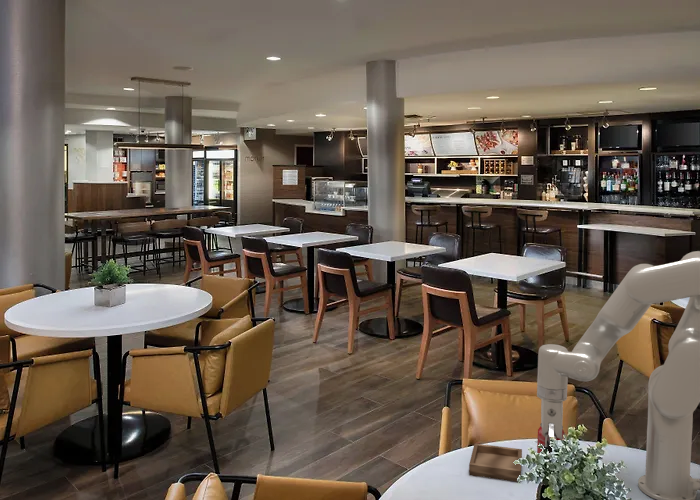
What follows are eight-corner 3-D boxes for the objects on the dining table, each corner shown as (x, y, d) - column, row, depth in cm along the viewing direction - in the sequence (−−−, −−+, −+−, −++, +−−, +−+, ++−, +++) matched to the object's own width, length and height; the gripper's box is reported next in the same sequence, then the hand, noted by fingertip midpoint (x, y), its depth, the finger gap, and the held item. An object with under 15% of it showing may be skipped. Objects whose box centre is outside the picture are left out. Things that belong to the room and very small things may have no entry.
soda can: (560, 462, 156) (561, 420, 154) (567, 475, 149) (569, 431, 147) (534, 461, 156) (535, 419, 155) (540, 474, 149) (541, 430, 148)
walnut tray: (521, 459, 158) (522, 449, 157) (520, 482, 145) (520, 471, 145) (474, 453, 162) (474, 443, 161) (469, 475, 149) (469, 464, 149)
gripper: (568, 405, 141) (565, 470, 143) (565, 382, 157) (563, 441, 159) (537, 401, 143) (534, 465, 145) (537, 379, 160) (535, 437, 162)
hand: (549, 453), depth 152 cm, fingers open, 9 cm apart
